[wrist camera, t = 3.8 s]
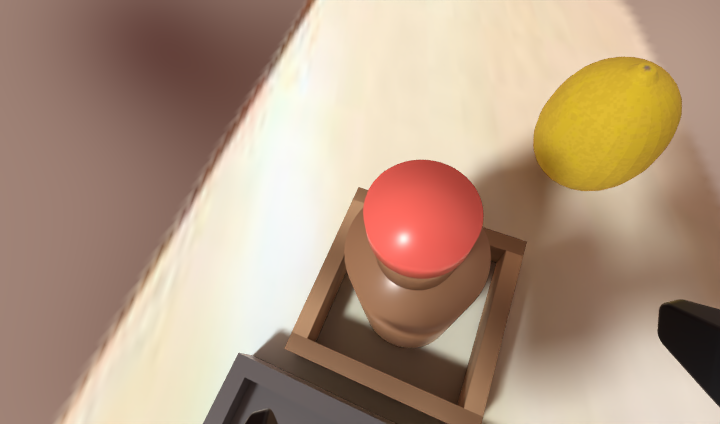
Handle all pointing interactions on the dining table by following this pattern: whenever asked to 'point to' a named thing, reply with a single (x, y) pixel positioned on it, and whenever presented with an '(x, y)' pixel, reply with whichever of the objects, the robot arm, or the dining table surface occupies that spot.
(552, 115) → the lemon
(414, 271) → the bottle
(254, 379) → the tray
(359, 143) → the dining table surface
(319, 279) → the stand
